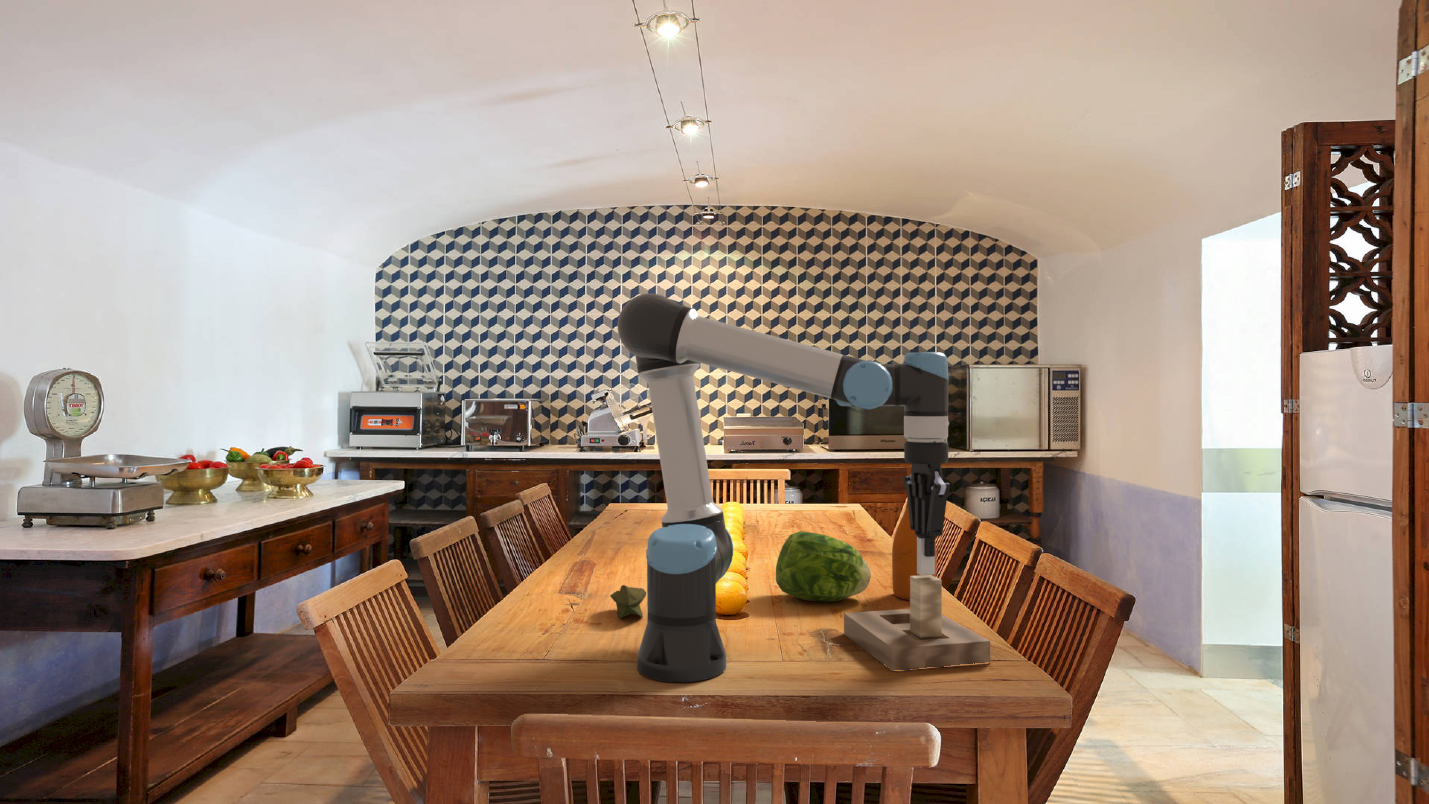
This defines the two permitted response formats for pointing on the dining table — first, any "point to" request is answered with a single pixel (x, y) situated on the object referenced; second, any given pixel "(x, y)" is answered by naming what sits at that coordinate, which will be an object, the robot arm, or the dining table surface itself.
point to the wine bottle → (905, 555)
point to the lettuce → (820, 568)
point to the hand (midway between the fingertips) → (925, 573)
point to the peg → (925, 607)
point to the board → (913, 641)
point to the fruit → (628, 600)
